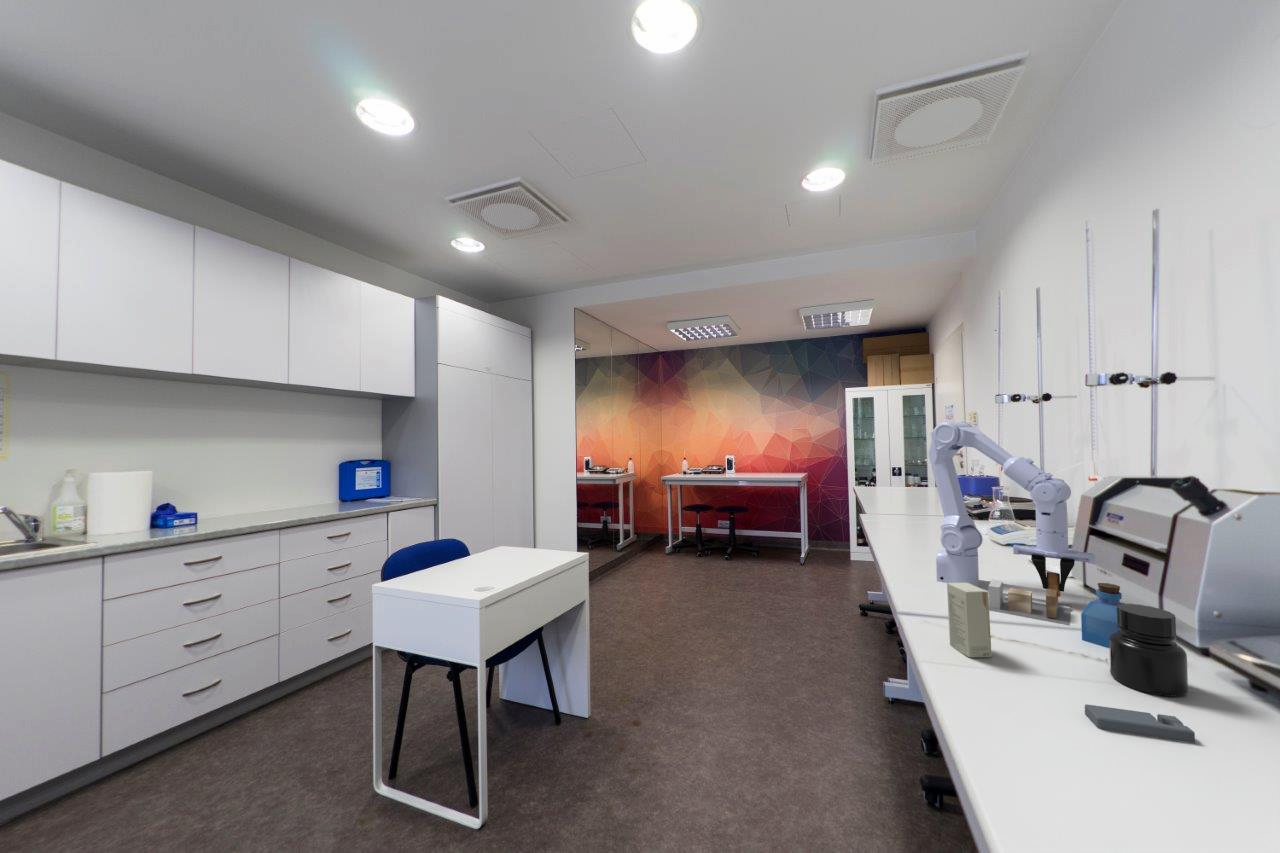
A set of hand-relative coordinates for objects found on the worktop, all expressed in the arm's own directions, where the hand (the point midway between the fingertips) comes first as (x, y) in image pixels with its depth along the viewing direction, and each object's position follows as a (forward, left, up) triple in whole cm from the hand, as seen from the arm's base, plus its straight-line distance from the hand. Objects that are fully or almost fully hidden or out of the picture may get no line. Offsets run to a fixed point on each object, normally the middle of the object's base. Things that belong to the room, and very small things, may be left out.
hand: (1053, 589), depth 115 cm
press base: (-4, -6, -4) cm, 8 cm away
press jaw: (0, -5, -3) cm, 6 cm away
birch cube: (-5, -9, -3) cm, 11 cm away
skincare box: (-11, -38, -5) cm, 40 cm away
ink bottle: (+13, -34, -5) cm, 37 cm away
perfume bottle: (+9, -20, -5) cm, 22 cm away
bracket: (+11, -52, -5) cm, 53 cm away
